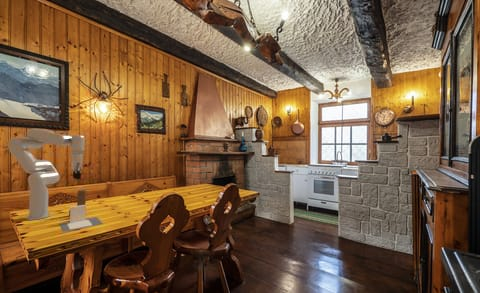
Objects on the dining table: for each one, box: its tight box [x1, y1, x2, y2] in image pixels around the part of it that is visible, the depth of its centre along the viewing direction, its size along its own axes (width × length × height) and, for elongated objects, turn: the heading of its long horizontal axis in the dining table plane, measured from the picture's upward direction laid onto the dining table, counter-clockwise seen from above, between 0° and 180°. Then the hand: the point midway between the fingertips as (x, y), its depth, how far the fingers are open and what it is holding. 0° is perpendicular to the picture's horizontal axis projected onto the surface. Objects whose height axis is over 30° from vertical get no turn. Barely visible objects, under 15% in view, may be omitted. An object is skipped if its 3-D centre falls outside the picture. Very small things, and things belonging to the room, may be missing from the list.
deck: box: [69, 205, 87, 223], centre depth 138 cm, size 2×8×10 cm, turn 135°
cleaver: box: [68, 189, 87, 218], centre depth 152 cm, size 9×4×18 cm, turn 132°
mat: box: [59, 216, 104, 233], centre depth 134 cm, size 20×20×1 cm
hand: (76, 178), depth 145 cm, fingers open, 8 cm apart
